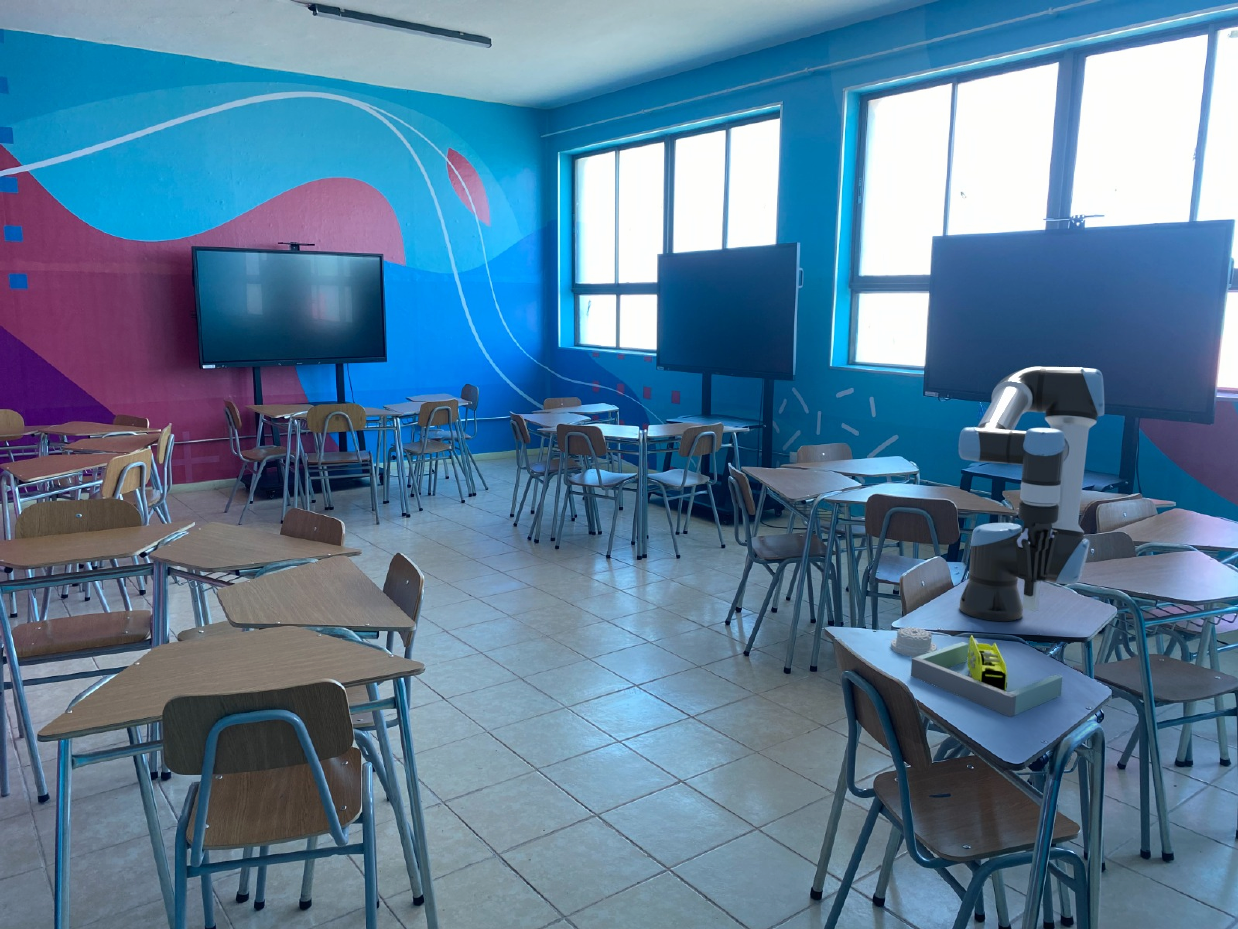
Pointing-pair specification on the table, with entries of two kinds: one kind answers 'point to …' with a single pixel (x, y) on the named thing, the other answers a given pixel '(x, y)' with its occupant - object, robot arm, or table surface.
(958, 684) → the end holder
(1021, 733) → the table surface
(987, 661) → the yellow toy chassis
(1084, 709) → the table surface
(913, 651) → the white cake
